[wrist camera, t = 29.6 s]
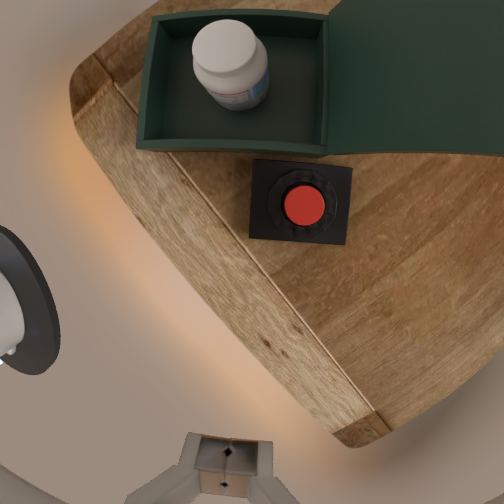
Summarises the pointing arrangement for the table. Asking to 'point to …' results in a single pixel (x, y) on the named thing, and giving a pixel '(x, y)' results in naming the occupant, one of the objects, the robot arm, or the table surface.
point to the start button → (304, 205)
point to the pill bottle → (231, 64)
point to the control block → (277, 186)
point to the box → (228, 121)
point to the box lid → (416, 77)
